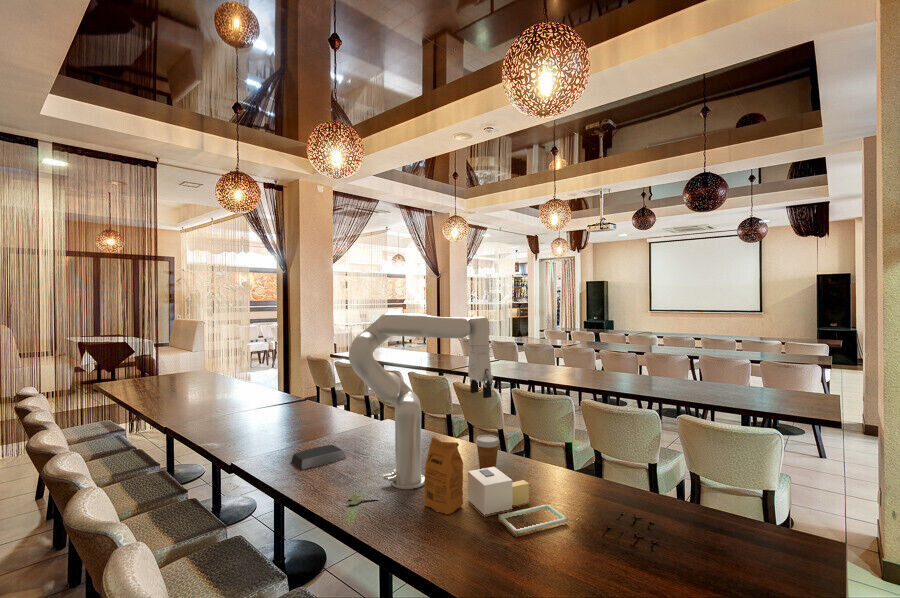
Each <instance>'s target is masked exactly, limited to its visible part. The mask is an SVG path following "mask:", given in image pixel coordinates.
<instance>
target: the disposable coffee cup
mask: <svg viewBox="0 0 900 598" xmlns="http://www.w3.org/2000/svg"><path fill="white" fill-rule="evenodd" d="M475 444H476V448H477V457H478V465H479V469H480V468H481V469H484V468H489V467H495V468H497V459H498V458H497V457H498V452H499V451H498V449H499V444H500V440H499V437H498V436H496V435H491V434H484V435H478V436H477V437H476V440H475Z"/></svg>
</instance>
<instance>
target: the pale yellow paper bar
mask: <svg viewBox="0 0 900 598" xmlns="http://www.w3.org/2000/svg"><path fill="white" fill-rule="evenodd" d="M527 502H529V503H530V484H529V482H528V481H526V480H524V479H521V480H517V481H512V505H518V504H523V503H527Z"/></svg>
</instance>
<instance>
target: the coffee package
mask: <svg viewBox="0 0 900 598" xmlns="http://www.w3.org/2000/svg"><path fill="white" fill-rule="evenodd" d="M459 445H460V444H459V443H458V442H454V441H453V442H452V441H441V440H440V439H438V437H436V436H435V435H434V436H432V437H431V440H430V444H429V447H428V452H427V457H426V461H425V470H424V471H425V472H424V477H425V479H424V485H423V490H424V506H425V507H426V506H428V507H427V508H430V507H431V508H430V509H432V510H433V509H434V510H435V511H438V512H442V513H441V514H443V513H445V515H447V514H449V515H451V514H453V513H454V512H455V511H456V510H458V509H459V508H461V507H462V506H463V505H464V492H463V486H464V462H463V458H462V456H461V453H460V450H459ZM434 510H433V511H434ZM435 511H434V512H435ZM438 512H437V513H438ZM450 513H451V514H450Z"/></svg>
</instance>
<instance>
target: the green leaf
mask: <svg viewBox="0 0 900 598" xmlns="http://www.w3.org/2000/svg"><path fill="white" fill-rule="evenodd" d="M359 497H360V496H357V495H356V494H354V493H353V494H351V496H350V497H348V498H347V500H350V501H349V502H347V503H346V504H347V505H357V504H359V503H361V501H362V502H363V500H362V499H358V498H359Z"/></svg>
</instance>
